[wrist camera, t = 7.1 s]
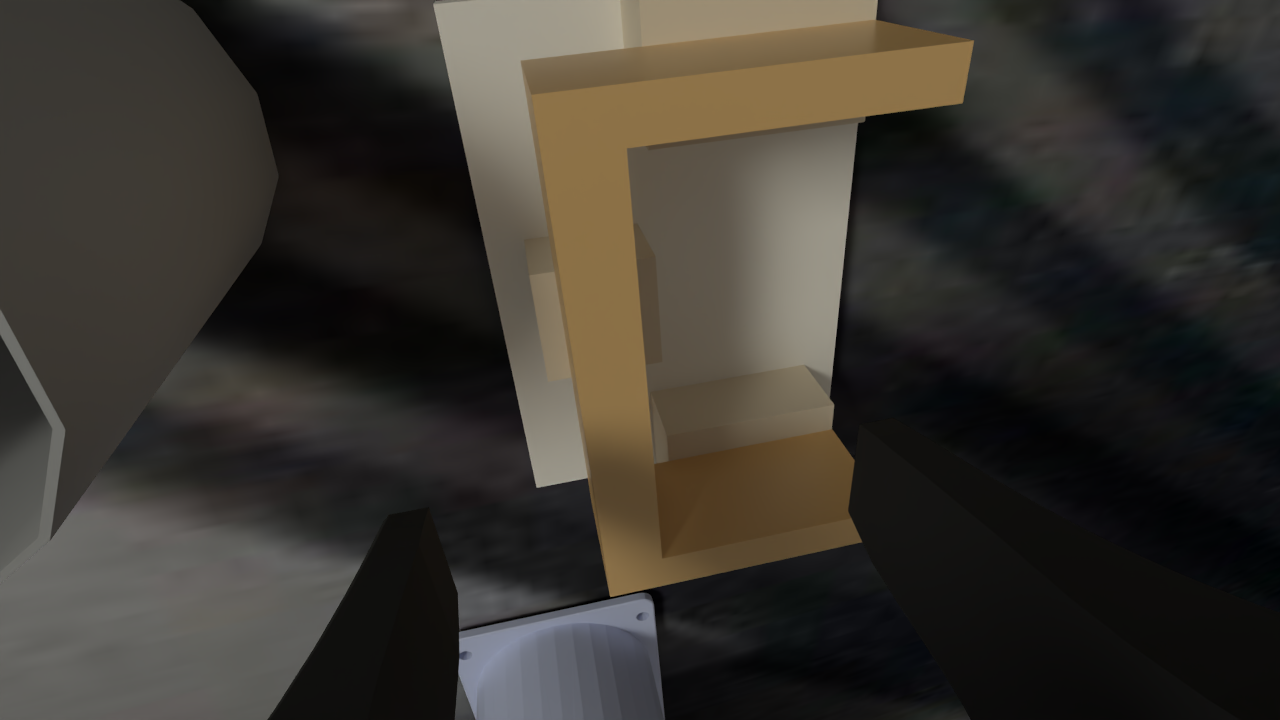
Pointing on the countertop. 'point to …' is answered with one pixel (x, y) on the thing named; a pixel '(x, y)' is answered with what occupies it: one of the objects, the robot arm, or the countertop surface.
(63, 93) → the cup
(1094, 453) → the countertop surface
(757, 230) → the display stand
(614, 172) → the tan u-shaped clamp
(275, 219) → the countertop surface
